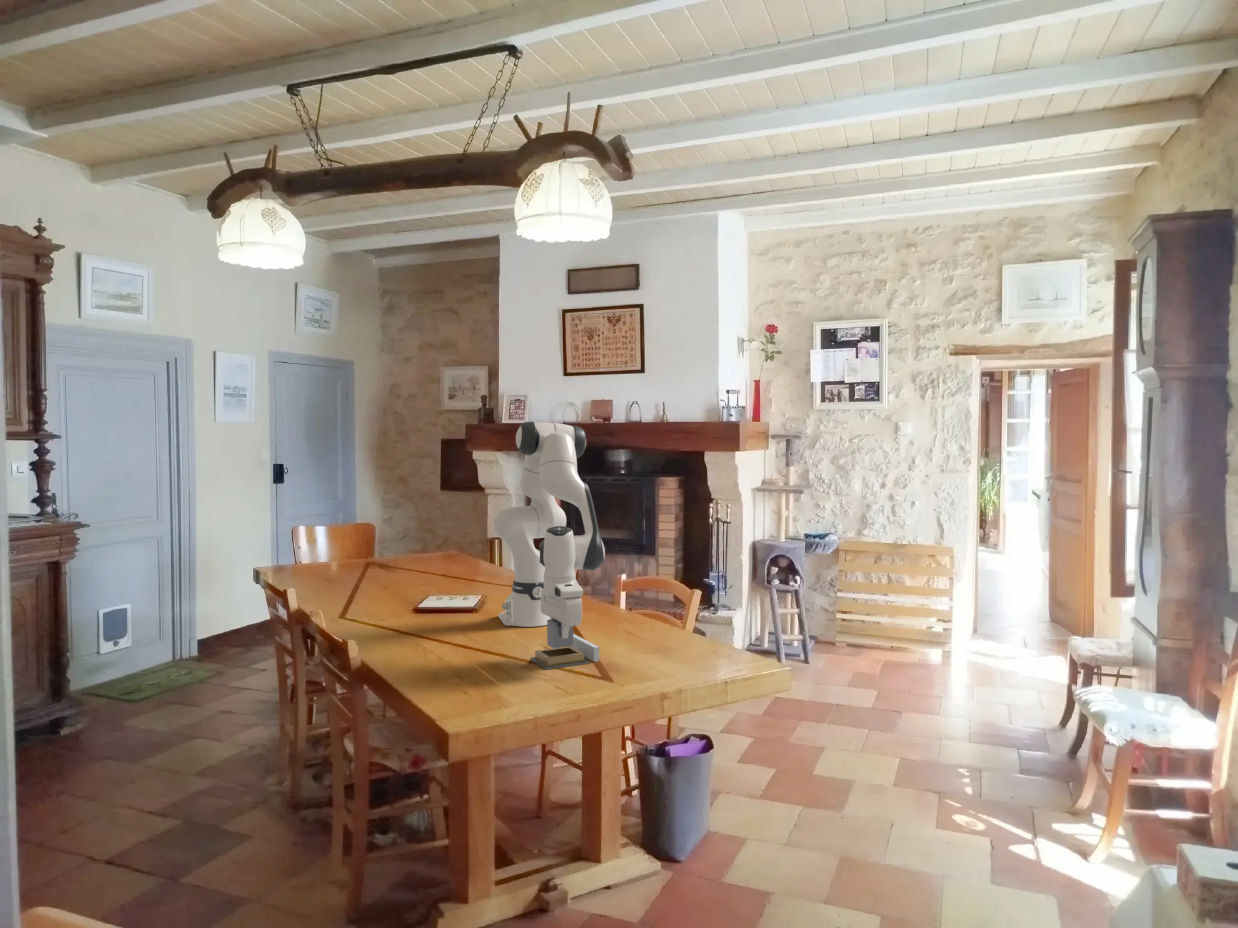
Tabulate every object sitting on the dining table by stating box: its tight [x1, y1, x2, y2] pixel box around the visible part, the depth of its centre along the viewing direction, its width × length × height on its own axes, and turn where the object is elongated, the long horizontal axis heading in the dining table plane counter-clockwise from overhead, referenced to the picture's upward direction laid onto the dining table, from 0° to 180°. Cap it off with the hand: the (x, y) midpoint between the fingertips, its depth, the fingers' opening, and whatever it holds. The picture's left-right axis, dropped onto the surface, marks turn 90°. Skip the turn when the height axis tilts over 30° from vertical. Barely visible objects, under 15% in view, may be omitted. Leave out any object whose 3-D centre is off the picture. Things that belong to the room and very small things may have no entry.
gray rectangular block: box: [546, 619, 574, 649], centre depth 231 cm, size 4×6×7 cm, turn 118°
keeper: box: [529, 646, 590, 671], centre depth 231 cm, size 11×13×3 cm
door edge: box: [566, 633, 600, 663], centre depth 239 cm, size 18×2×4 cm, turn 28°
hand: (560, 635), depth 231 cm, fingers closed on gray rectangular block, 4 cm apart
